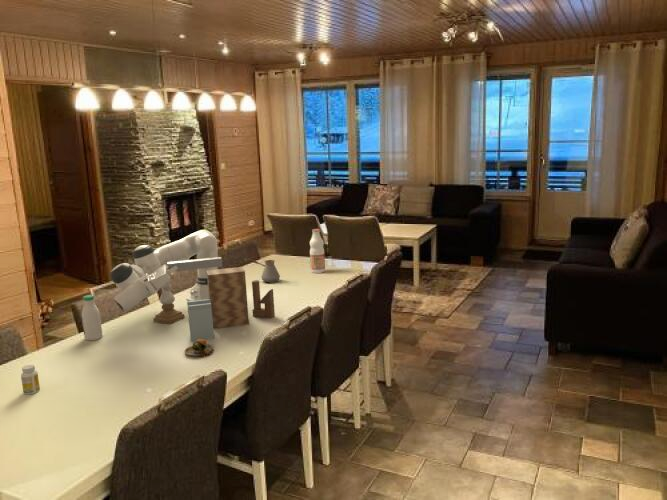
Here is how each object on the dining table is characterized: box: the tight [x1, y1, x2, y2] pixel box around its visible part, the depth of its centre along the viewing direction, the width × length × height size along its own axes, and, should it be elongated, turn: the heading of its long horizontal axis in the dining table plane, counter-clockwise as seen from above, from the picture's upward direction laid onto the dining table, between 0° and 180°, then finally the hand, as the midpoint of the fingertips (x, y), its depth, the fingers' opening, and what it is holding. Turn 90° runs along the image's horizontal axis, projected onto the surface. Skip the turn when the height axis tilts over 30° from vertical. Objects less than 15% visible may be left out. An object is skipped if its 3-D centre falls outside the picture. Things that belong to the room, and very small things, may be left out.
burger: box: [184, 335, 215, 358], centre depth 236 cm, size 12×12×8 cm
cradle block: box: [186, 299, 215, 342], centre depth 254 cm, size 10×8×16 cm
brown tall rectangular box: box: [207, 266, 250, 330], centre depth 270 cm, size 17×10×26 cm, turn 106°
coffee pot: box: [244, 257, 281, 283], centre depth 349 cm, size 21×12×15 cm, turn 81°
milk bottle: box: [81, 294, 103, 341], centre depth 258 cm, size 8×8×20 cm
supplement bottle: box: [20, 364, 41, 396], centre depth 205 cm, size 5×5×10 cm
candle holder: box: [152, 271, 186, 325], centre depth 280 cm, size 11×11×24 cm
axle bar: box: [167, 256, 223, 272], centre depth 248 cm, size 23×4×4 cm, turn 106°
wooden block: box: [251, 279, 276, 319], centre depth 279 cm, size 4×11×18 cm, turn 67°
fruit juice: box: [309, 228, 326, 274], centre depth 366 cm, size 9×9×28 cm
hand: (176, 265), depth 246 cm, fingers closed on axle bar, 4 cm apart
